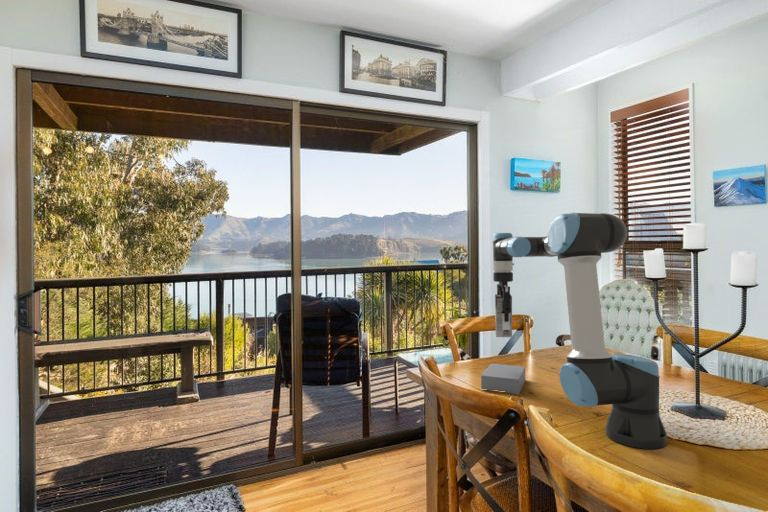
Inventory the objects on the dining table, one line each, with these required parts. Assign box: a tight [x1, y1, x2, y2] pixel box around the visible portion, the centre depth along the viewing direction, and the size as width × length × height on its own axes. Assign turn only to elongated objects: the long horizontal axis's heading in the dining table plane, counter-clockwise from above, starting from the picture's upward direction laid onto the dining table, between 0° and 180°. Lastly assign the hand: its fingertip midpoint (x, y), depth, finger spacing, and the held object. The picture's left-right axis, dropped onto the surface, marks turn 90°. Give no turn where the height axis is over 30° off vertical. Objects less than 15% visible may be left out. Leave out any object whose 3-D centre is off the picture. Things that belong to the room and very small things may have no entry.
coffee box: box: [494, 293, 513, 338], centre depth 179 cm, size 9×6×16 cm
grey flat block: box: [480, 363, 526, 395], centre depth 179 cm, size 20×14×6 cm
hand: (503, 327), depth 179 cm, fingers closed on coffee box, 9 cm apart
